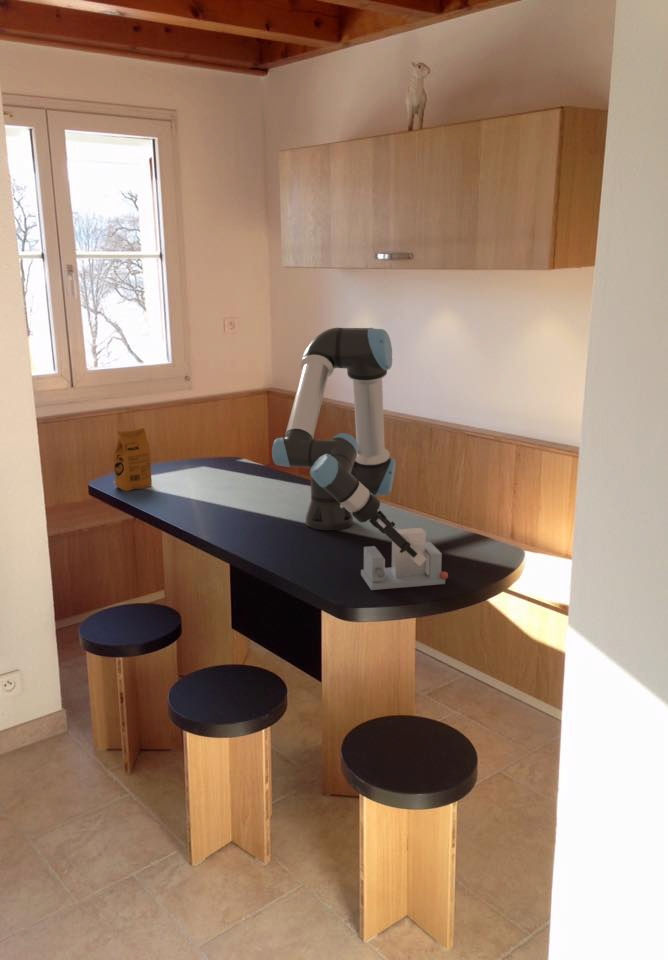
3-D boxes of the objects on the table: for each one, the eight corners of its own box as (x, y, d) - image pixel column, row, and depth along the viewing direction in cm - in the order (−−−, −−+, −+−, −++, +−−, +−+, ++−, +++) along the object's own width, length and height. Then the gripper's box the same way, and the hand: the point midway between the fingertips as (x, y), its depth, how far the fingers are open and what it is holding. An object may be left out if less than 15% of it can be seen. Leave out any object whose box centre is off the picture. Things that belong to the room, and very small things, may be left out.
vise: (360, 574, 231) (361, 545, 229) (433, 569, 235) (434, 540, 233) (372, 591, 219) (372, 561, 217) (448, 585, 223) (449, 555, 221)
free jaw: (363, 569, 230) (363, 546, 228) (376, 568, 230) (376, 545, 229) (376, 587, 217) (376, 563, 216) (389, 586, 218) (389, 562, 216)
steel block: (391, 572, 228) (392, 529, 225) (420, 570, 230) (421, 527, 227) (395, 577, 225) (396, 534, 222) (424, 575, 226) (425, 532, 223)
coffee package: (112, 487, 319) (108, 429, 313) (142, 481, 327) (139, 424, 321) (124, 492, 312) (120, 433, 306) (155, 486, 319) (151, 428, 314)
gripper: (339, 499, 232) (392, 548, 238) (361, 527, 208) (419, 580, 215) (358, 479, 231) (410, 529, 238) (382, 505, 208) (440, 559, 215)
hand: (415, 553), depth 227 cm, fingers open, 13 cm apart
